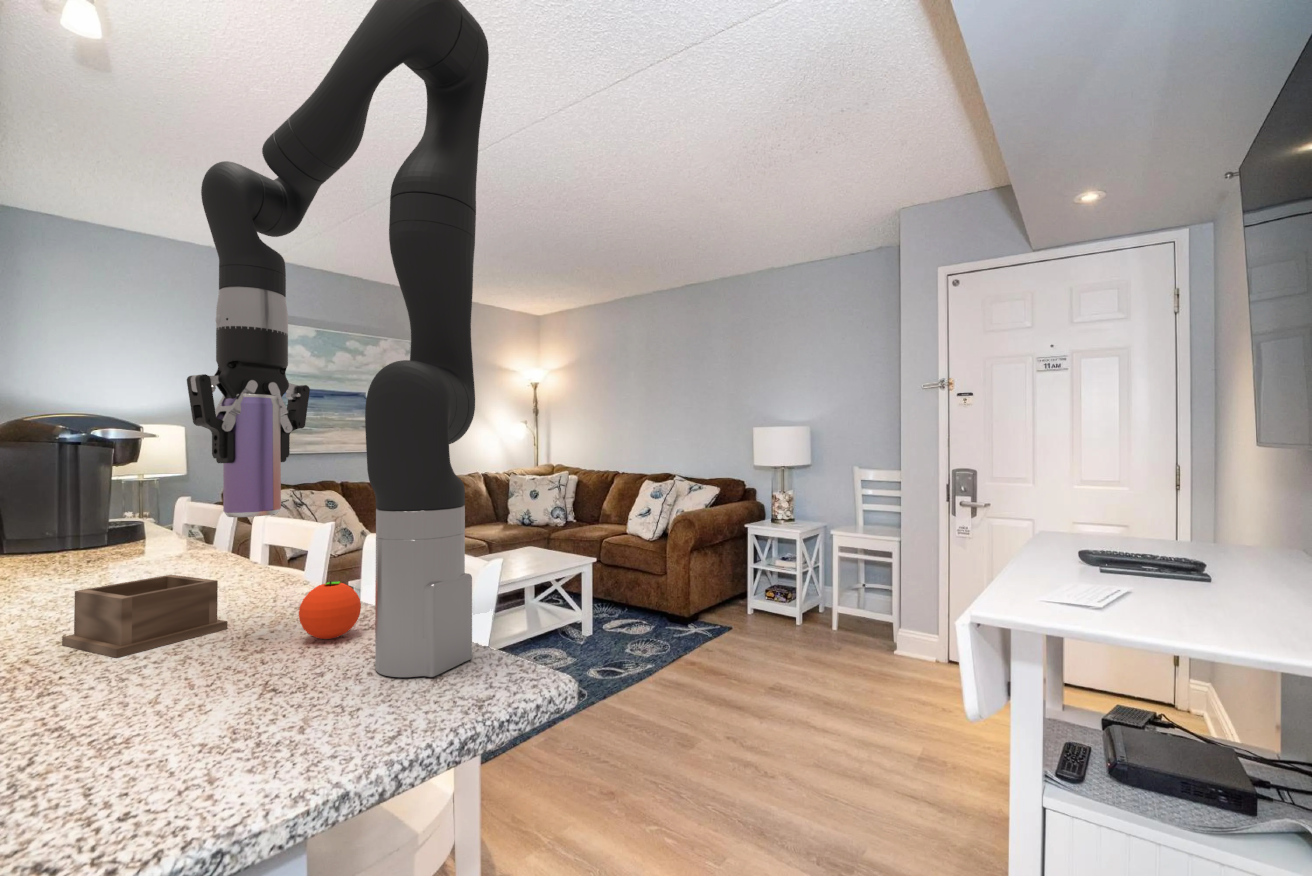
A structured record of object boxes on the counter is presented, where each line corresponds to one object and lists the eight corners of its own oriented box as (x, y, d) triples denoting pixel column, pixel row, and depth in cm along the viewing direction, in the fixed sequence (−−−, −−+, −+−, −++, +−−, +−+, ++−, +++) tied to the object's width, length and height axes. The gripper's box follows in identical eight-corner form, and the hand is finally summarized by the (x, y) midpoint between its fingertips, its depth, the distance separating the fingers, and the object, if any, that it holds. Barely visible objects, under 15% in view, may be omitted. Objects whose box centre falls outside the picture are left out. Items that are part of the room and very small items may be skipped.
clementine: (311, 629, 78) (312, 575, 78) (368, 625, 80) (368, 572, 80) (289, 649, 71) (290, 589, 71) (353, 644, 72) (353, 585, 72)
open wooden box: (227, 628, 79) (227, 579, 79) (116, 657, 68) (117, 601, 68) (173, 619, 84) (174, 573, 84) (62, 645, 73) (62, 591, 73)
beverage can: (252, 517, 71) (251, 392, 71) (210, 517, 72) (210, 394, 72) (292, 512, 76) (291, 397, 77) (253, 512, 78) (253, 398, 78)
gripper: (209, 315, 67) (208, 464, 66) (325, 337, 80) (325, 461, 79) (170, 321, 70) (169, 464, 69) (288, 341, 83) (288, 461, 82)
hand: (252, 462), depth 74 cm, fingers closed on beverage can, 6 cm apart
